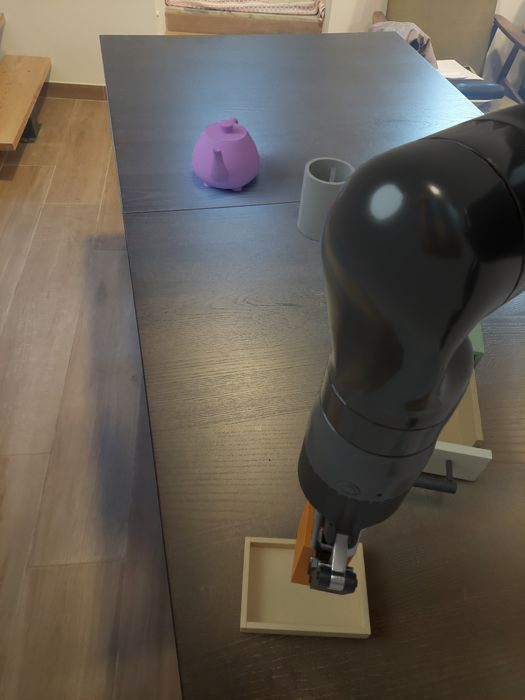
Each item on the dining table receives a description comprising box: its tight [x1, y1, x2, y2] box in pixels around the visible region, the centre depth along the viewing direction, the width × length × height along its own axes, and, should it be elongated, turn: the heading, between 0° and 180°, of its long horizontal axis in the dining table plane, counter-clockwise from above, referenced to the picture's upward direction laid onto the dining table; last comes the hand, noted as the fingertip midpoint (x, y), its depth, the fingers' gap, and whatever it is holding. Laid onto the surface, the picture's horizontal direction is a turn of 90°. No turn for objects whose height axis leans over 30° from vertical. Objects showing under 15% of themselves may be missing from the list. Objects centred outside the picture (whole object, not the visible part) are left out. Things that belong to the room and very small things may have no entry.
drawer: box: [412, 368, 493, 495], centre depth 67 cm, size 22×13×6 cm, turn 170°
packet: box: [291, 499, 354, 586], centre depth 45 cm, size 5×4×10 cm
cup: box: [296, 156, 356, 242], centre depth 95 cm, size 9×9×12 cm
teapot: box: [191, 117, 261, 192], centre depth 103 cm, size 20×14×12 cm
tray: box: [239, 536, 372, 639], centre depth 55 cm, size 13×9×2 cm
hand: (323, 540), depth 45 cm, fingers closed on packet, 5 cm apart
